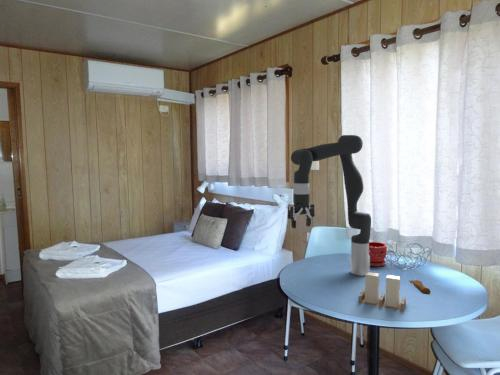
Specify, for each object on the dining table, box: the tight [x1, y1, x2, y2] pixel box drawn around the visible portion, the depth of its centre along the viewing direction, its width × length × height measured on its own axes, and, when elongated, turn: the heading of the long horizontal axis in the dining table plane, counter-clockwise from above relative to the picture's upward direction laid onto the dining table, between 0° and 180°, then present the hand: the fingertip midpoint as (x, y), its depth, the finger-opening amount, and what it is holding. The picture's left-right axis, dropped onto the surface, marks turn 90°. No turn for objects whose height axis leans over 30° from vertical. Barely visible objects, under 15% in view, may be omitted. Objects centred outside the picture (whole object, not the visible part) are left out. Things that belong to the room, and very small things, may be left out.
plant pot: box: [369, 241, 388, 267], centre depth 210 cm, size 13×13×12 cm
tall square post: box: [385, 274, 401, 308], centre depth 149 cm, size 4×5×12 cm
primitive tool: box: [409, 279, 431, 295], centre depth 172 cm, size 19×6×4 cm, turn 174°
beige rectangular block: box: [364, 271, 380, 304], centre depth 153 cm, size 4×5×12 cm
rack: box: [358, 289, 407, 312], centre depth 151 cm, size 8×18×4 cm, turn 61°
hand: (301, 227), depth 168 cm, fingers open, 8 cm apart
